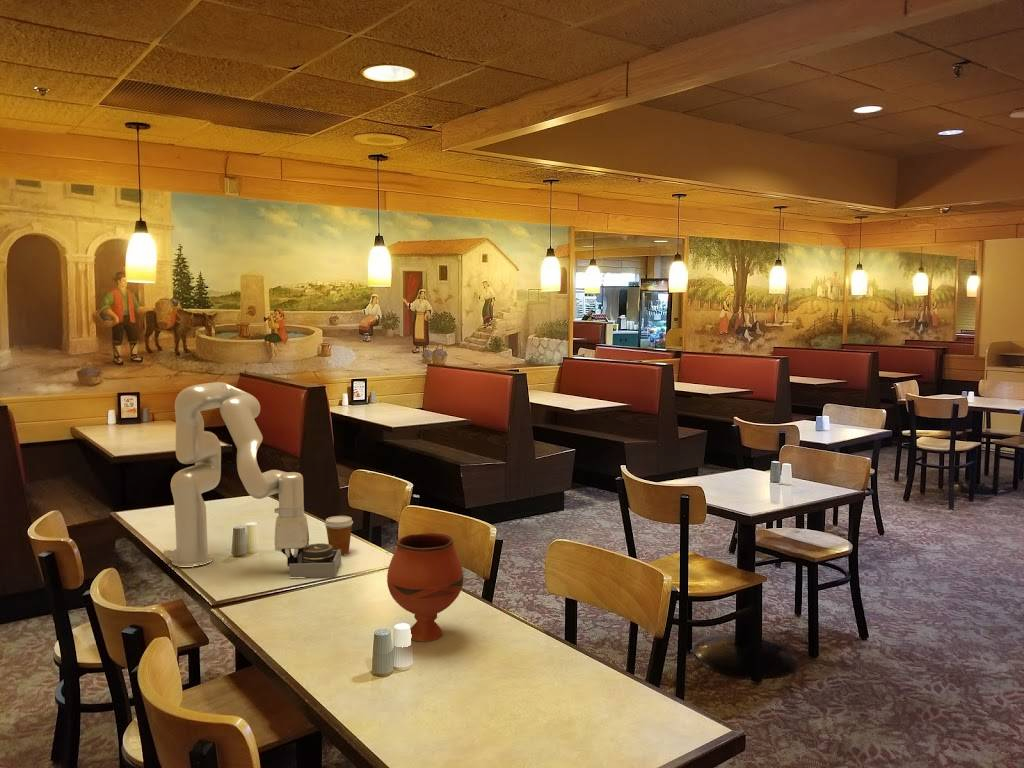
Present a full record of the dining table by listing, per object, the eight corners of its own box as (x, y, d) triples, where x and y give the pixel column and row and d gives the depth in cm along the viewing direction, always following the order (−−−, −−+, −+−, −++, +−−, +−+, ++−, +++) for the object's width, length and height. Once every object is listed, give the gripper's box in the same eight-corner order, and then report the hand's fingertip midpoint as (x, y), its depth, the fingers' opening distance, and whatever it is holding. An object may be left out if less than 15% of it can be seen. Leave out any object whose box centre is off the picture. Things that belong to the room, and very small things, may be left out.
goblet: (474, 625, 209) (474, 533, 206) (444, 655, 191) (443, 554, 188) (409, 616, 215) (408, 526, 213) (374, 644, 197) (372, 546, 195)
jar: (324, 577, 247) (324, 553, 246) (295, 574, 249) (295, 550, 249) (339, 567, 256) (339, 544, 256) (311, 564, 259) (311, 541, 258)
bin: (289, 578, 245) (289, 563, 245) (297, 564, 259) (297, 549, 259) (335, 577, 247) (334, 561, 246) (341, 563, 260) (340, 548, 260)
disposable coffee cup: (350, 557, 266) (349, 522, 265) (322, 557, 267) (321, 522, 265) (356, 549, 276) (355, 515, 275) (329, 549, 276) (328, 515, 275)
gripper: (264, 515, 246) (266, 572, 248) (313, 514, 247) (314, 571, 249) (270, 509, 254) (271, 565, 255) (317, 508, 255) (318, 564, 257)
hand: (292, 568), depth 252 cm, fingers closed
